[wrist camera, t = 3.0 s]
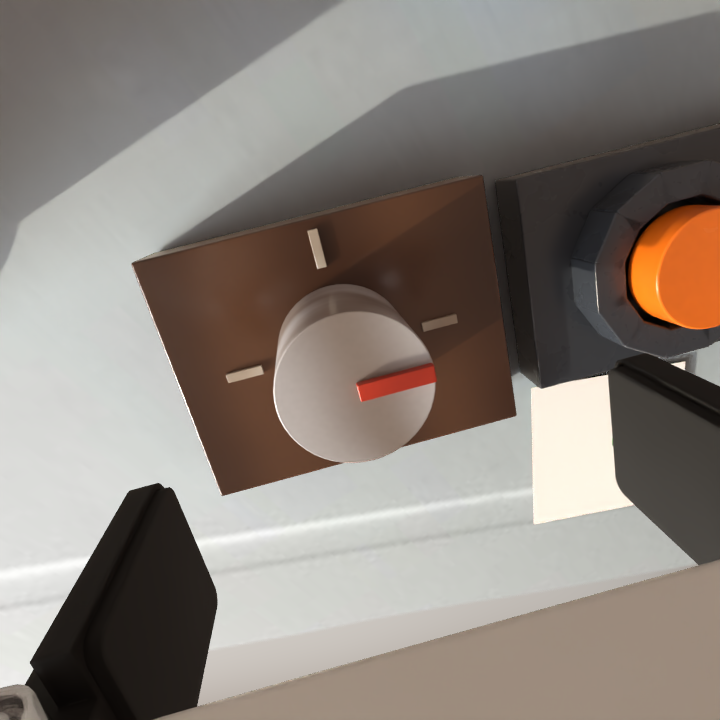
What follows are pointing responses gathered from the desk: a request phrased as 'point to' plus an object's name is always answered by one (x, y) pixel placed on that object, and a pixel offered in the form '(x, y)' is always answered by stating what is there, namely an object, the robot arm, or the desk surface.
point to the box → (597, 253)
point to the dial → (351, 375)
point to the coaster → (574, 450)
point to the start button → (679, 267)
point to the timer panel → (314, 271)
